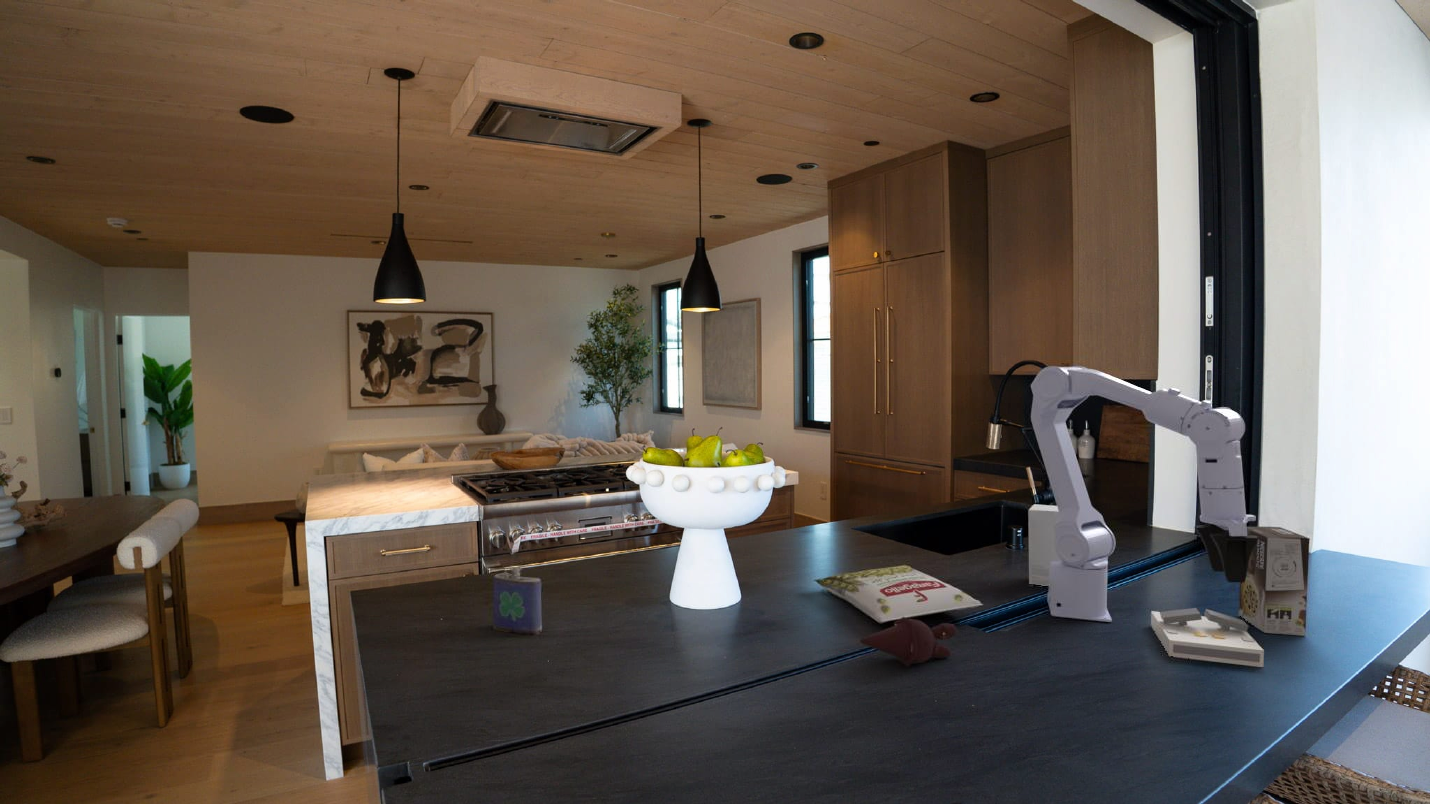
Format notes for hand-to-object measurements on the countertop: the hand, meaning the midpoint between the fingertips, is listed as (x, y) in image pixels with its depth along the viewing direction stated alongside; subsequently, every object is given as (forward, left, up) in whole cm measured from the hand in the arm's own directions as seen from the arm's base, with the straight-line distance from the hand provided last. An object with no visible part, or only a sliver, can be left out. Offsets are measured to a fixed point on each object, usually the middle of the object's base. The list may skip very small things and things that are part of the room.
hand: (1228, 576), depth 114 cm
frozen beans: (-50, +5, -12) cm, 52 cm away
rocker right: (0, +4, -9) cm, 10 cm away
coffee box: (+11, +17, -12) cm, 23 cm away
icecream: (-45, -20, -12) cm, 51 cm away
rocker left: (-5, +4, -9) cm, 11 cm away
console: (-2, +3, -12) cm, 12 cm away
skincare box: (-22, +30, -12) cm, 39 cm away
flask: (-108, -28, -12) cm, 113 cm away
